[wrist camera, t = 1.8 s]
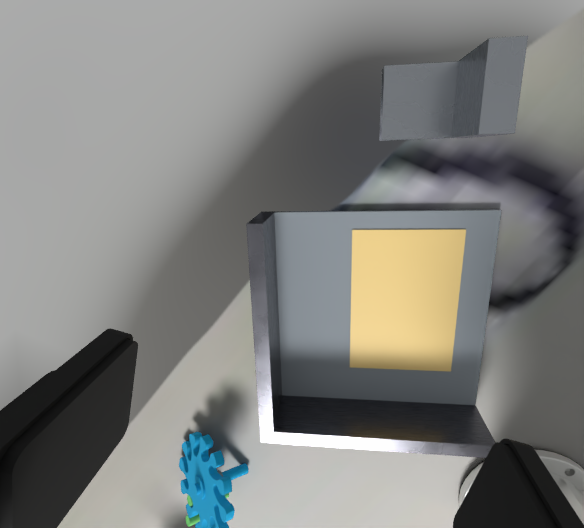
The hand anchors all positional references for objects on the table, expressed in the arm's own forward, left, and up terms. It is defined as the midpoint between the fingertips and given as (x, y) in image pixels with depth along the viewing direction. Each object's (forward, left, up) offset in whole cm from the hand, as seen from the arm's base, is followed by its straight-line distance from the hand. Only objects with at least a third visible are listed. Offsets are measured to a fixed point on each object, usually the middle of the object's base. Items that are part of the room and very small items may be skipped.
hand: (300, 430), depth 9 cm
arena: (-5, +7, -23) cm, 25 cm away
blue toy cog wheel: (+12, +25, -24) cm, 37 cm away
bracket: (-8, -10, -24) cm, 27 cm away
